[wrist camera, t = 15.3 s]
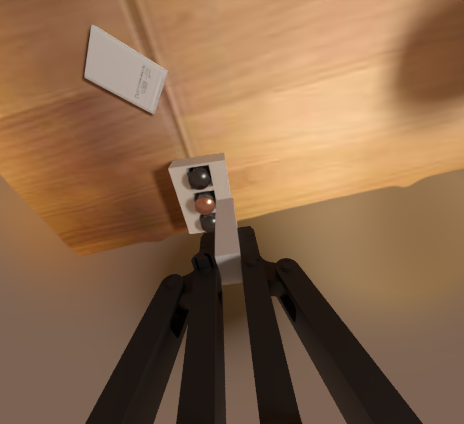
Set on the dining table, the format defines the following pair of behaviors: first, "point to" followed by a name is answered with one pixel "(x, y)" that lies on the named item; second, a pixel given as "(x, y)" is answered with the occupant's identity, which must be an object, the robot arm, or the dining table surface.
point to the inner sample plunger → (199, 177)
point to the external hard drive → (124, 70)
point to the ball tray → (189, 195)
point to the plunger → (208, 222)
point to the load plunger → (205, 203)
